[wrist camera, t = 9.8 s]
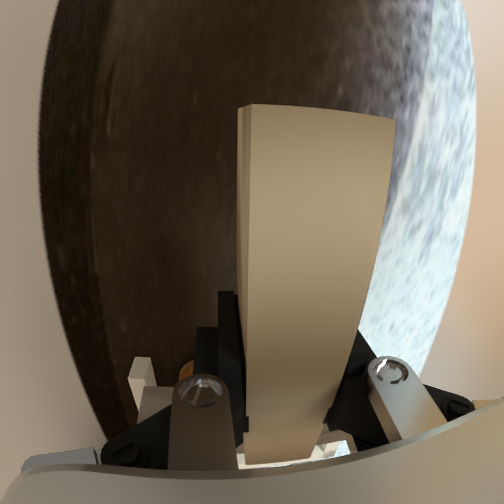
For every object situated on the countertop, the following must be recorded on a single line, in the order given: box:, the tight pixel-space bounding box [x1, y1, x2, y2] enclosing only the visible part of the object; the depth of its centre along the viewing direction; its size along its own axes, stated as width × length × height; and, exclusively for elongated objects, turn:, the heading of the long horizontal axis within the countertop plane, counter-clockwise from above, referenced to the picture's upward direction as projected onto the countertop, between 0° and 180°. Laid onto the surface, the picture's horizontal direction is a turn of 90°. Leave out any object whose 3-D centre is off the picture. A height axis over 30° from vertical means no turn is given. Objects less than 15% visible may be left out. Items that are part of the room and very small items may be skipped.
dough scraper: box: [137, 104, 396, 465], centre depth 9 cm, size 12×11×4 cm
